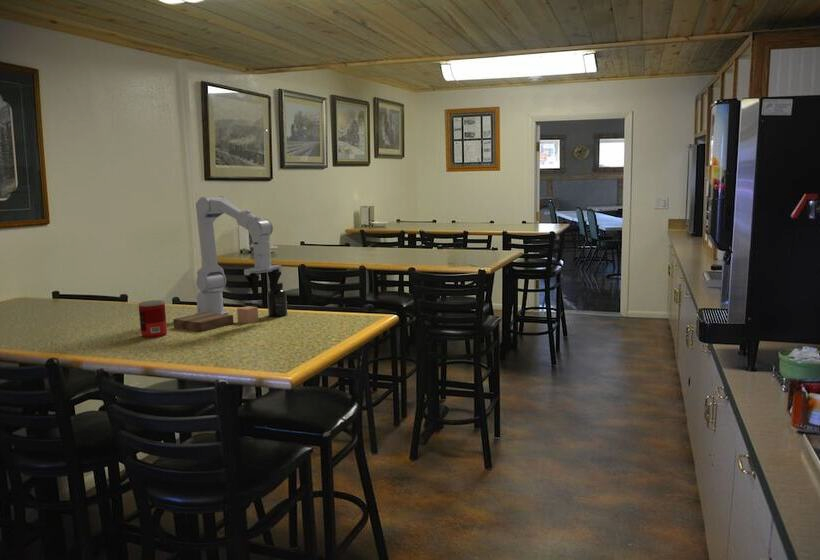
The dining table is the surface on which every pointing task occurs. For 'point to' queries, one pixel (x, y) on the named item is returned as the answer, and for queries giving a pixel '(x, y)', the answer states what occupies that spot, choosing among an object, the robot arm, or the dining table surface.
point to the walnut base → (203, 321)
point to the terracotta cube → (247, 314)
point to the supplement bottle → (277, 301)
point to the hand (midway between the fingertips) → (264, 293)
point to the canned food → (152, 319)
